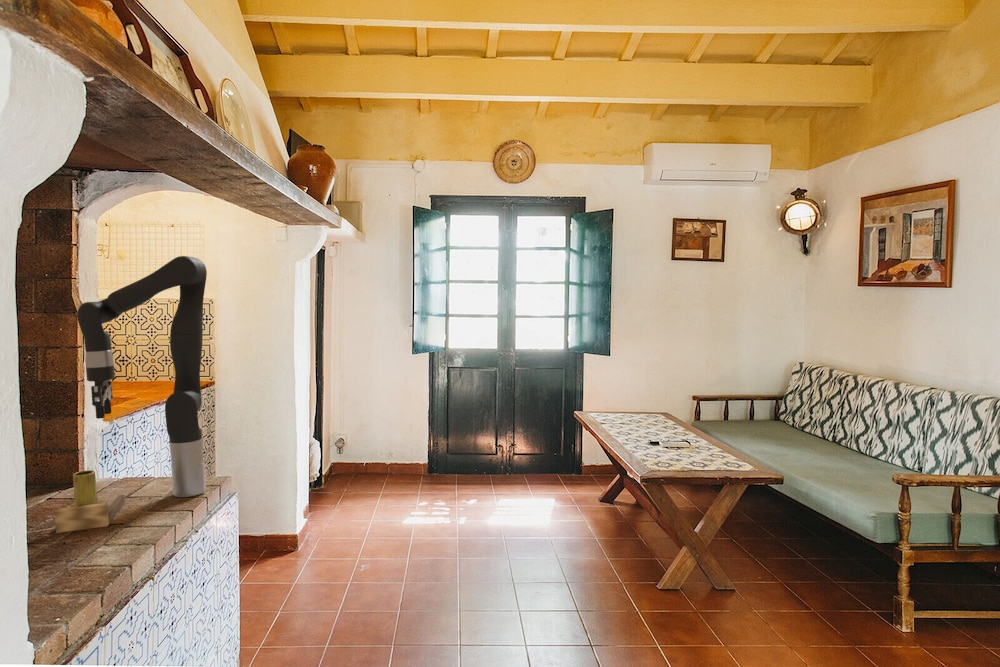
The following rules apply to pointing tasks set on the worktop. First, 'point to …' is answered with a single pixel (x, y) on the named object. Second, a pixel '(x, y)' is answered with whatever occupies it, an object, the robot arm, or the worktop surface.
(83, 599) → the worktop surface
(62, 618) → the worktop surface
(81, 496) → the vase
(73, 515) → the track
